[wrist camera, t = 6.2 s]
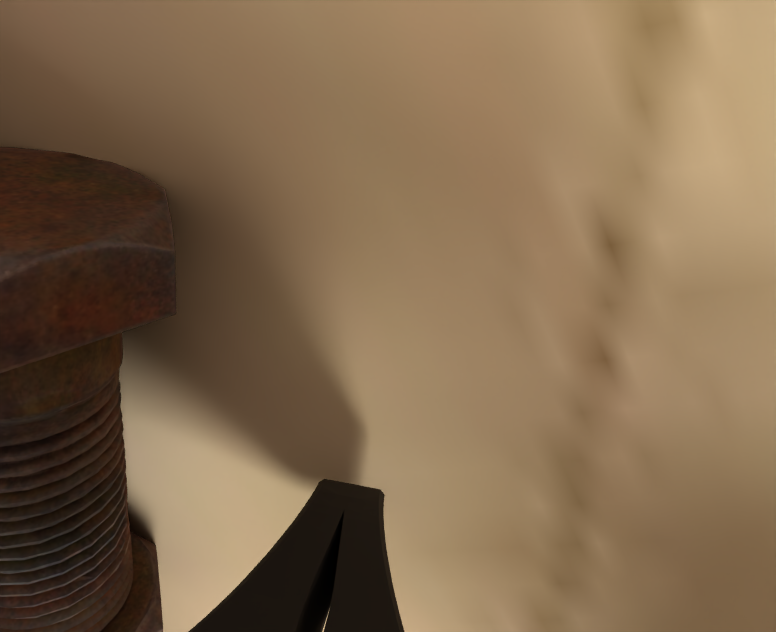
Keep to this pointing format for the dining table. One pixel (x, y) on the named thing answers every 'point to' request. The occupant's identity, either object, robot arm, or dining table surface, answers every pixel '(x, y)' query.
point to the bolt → (74, 388)
